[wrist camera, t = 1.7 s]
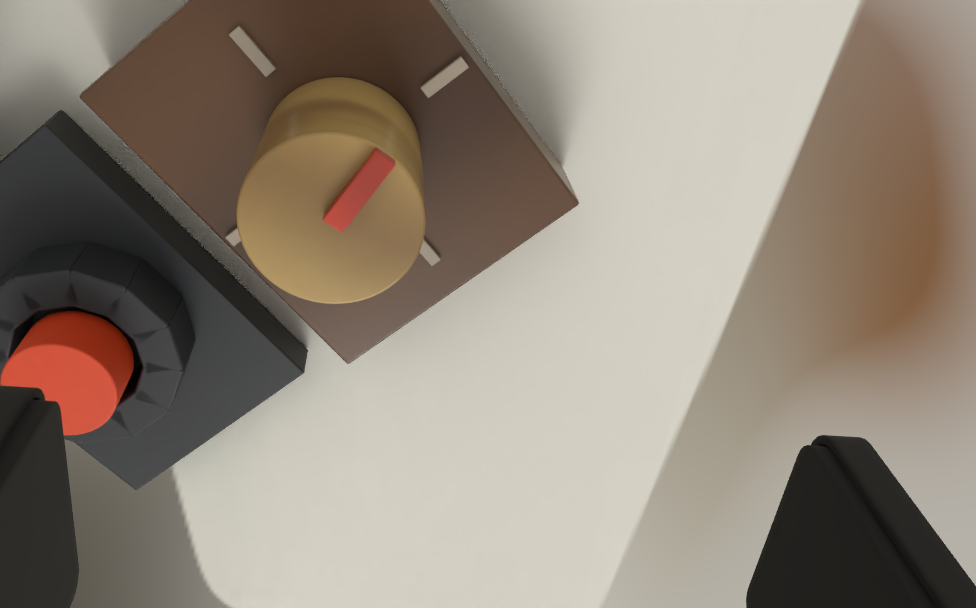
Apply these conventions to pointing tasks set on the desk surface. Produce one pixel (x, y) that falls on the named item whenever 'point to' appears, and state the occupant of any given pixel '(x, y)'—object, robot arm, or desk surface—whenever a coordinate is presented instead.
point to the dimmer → (351, 54)
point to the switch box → (133, 300)
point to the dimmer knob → (334, 193)
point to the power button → (74, 367)
